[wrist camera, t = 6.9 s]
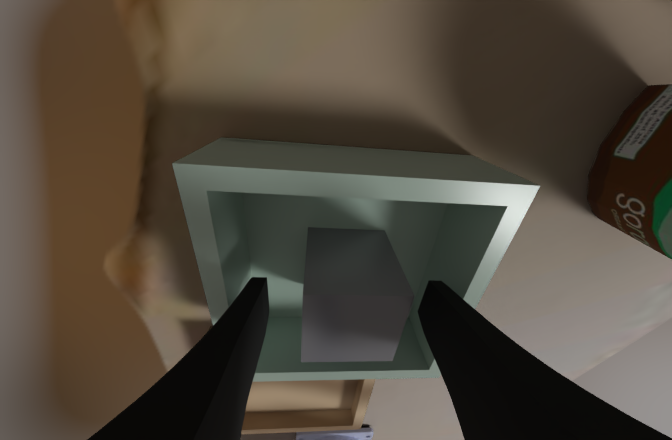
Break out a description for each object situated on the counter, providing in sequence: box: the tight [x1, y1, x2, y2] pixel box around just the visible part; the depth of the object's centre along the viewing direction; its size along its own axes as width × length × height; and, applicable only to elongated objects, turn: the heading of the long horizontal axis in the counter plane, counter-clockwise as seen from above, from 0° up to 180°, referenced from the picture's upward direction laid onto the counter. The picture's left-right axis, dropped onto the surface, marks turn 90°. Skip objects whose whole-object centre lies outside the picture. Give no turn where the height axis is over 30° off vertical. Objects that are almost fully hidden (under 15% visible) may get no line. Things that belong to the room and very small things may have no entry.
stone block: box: [301, 227, 415, 362], centre depth 11 cm, size 4×4×4 cm
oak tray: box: [209, 326, 375, 434], centre depth 19 cm, size 12×12×2 cm
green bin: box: [172, 137, 540, 382], centre depth 12 cm, size 12×12×4 cm
